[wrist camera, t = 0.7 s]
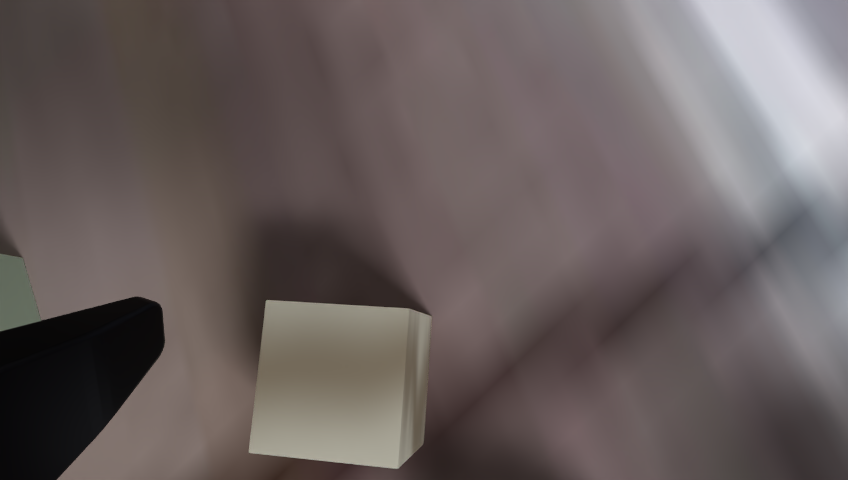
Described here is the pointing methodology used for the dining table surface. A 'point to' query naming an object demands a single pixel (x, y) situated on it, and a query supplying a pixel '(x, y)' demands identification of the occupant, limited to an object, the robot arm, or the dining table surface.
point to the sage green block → (15, 294)
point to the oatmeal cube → (341, 383)
